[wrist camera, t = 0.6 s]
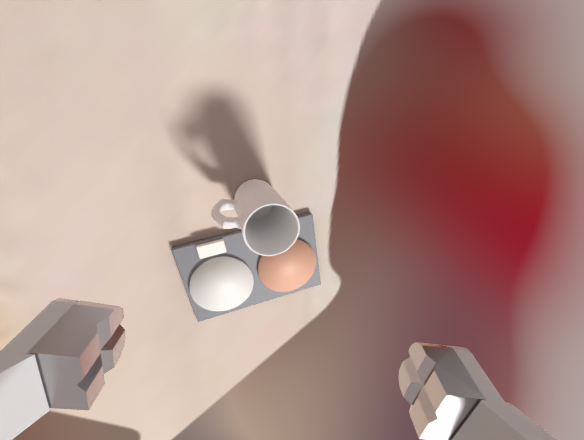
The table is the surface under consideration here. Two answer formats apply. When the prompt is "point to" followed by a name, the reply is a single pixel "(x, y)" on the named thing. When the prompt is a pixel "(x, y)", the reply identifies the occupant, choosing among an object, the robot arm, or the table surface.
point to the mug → (260, 218)
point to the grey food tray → (244, 271)
